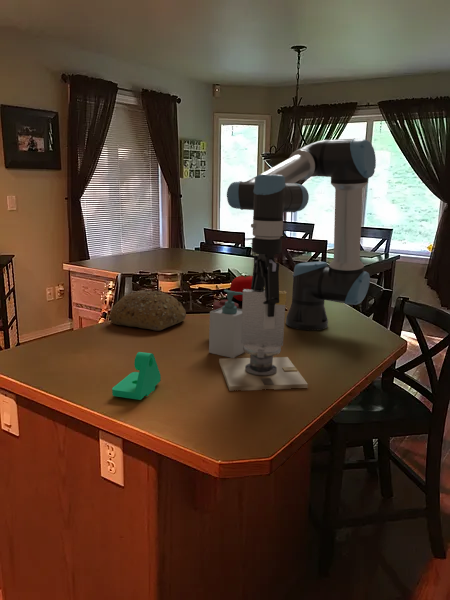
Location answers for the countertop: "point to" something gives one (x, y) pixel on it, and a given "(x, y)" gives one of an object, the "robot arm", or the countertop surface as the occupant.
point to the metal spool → (261, 366)
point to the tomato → (241, 285)
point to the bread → (147, 310)
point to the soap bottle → (226, 329)
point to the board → (242, 380)
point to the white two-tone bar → (261, 324)
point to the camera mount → (139, 378)
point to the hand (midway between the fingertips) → (263, 322)
